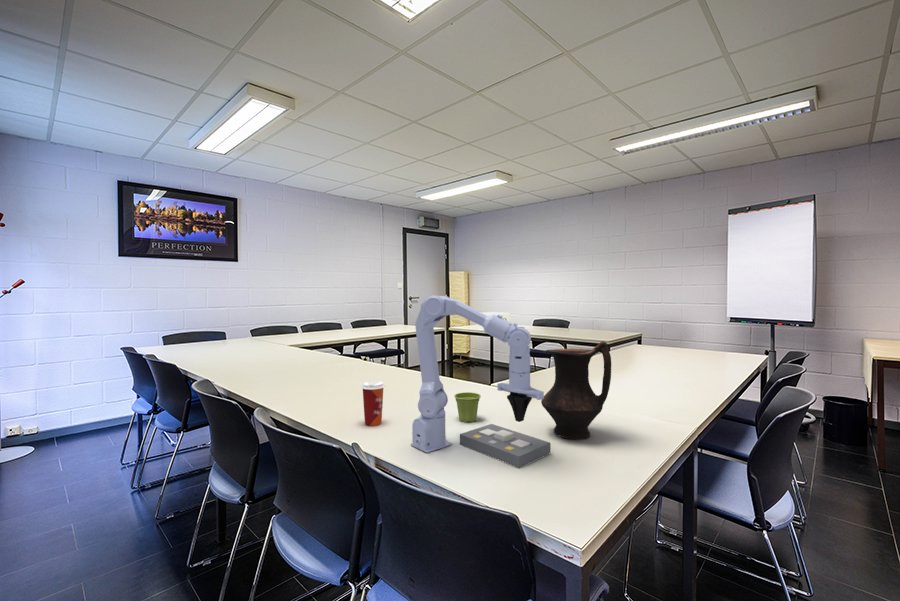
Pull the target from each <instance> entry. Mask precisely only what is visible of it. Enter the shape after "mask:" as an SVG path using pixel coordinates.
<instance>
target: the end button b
mask: <svg viewBox="0 0 900 601" xmlns="http://www.w3.org/2000/svg"><path fill="white" fill-rule="evenodd" d="M510 445H513V446H516V447H518V448H521V449H523V448H525V447H528V446H530V445H531V443H529V442H526V441H523V440H520V439H519V440H516V441H514V442H511V443H510Z"/></svg>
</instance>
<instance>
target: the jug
mask: <svg viewBox="0 0 900 601" xmlns="http://www.w3.org/2000/svg"><path fill="white" fill-rule="evenodd" d="M545 353H547V354H552V357H553V362H554V374H555V377H554V383H553V385H552V387H551V388H550V389H549V390H548V391H547V392H546V393H545V394H544V399H541V402H540V403H541V405H542V408H544V410H545V411H546V412H547V413H548V414H549V416H550V417H551V419H552V420H553V421H554V423H555V427H554V428H553V433H554V434H555V435H556V436H559V437H562V438H565V439H571V440H584V439H589V438H590V436H591V432H590V431H589V426H590V425H591V423H592V422H593V421H594V420H595V419H596V418H597V416H598V415H599V414H600V413H601V412H602V411H603V406H604V404H605V402H606V400H607V398H608V394H609V390H610V386H611V380H612V377H611V376H612V357H611V353H610V349H609V347H608V344H607V342H606V341H605V340H603V341H600V342H599V343H598V344H597V345H595V346H594V347H593V348H592V349H586V348H556V349H545ZM599 353H601V354H602V357H603V375H602V384H601V385H602V387H601V393H600V394H599V395H598V394H596V393H595V392H594V390H593V388H592V386H591V383H590V380H589V377H590V376H589V373H590V372H589V371H590V370H589V364H590V362H591V360H592V357H593V356H595V355H596V354H599Z"/></svg>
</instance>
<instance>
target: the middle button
mask: <svg viewBox="0 0 900 601" xmlns="http://www.w3.org/2000/svg"><path fill="white" fill-rule="evenodd" d="M494 439H496V440H499V441H501V442H504V443H505V442H508V441H510V440H513V439H514V433H511V432H508V431H505V430H501V431H498V432H495V433H494Z"/></svg>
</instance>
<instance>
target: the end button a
mask: <svg viewBox="0 0 900 601" xmlns="http://www.w3.org/2000/svg"><path fill="white" fill-rule="evenodd" d="M495 432H496V431H493V430H490V429H486V430H483V431H480V432H479V434H482V435H485V436H487V437H490V436H493V435H494V433H495Z"/></svg>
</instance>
